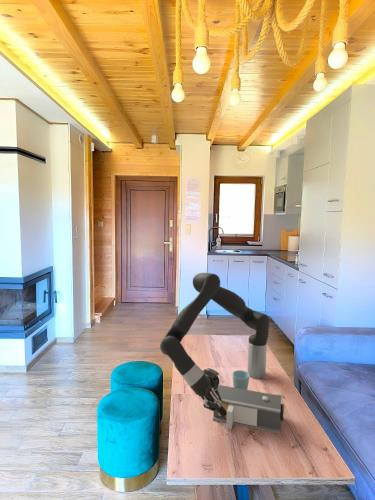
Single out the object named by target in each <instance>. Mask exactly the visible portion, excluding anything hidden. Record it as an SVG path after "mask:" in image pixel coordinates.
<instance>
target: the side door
mask: <svg viewBox="0 0 375 500" xmlns="http://www.w3.org/2000/svg"><path fill="white" fill-rule="evenodd" d="M257 410H258V409H255V408H249V407H244V406H239V405H234V404H229V406H228V409H227V421H226V423H225V425H226V427H225V428H226V429H227V430H232V429H233V426H234V424H233V422H238V423H242V424H247V425H252V426H257Z"/></svg>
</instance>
